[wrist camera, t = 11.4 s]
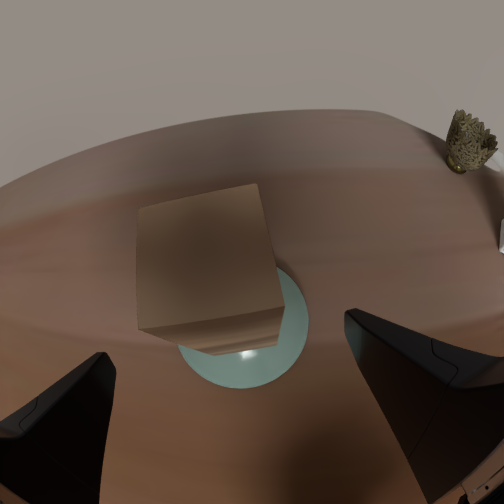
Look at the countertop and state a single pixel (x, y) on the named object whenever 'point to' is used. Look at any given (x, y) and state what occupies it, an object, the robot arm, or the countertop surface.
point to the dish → (259, 360)
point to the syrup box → (502, 237)
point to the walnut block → (208, 272)
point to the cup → (468, 143)
